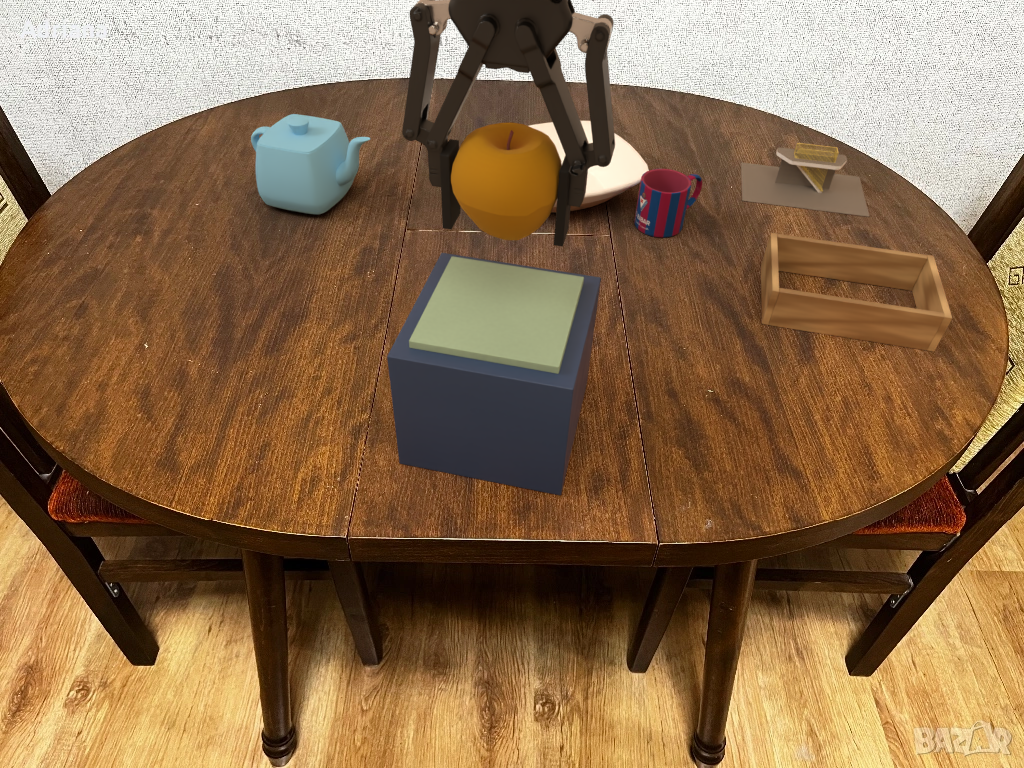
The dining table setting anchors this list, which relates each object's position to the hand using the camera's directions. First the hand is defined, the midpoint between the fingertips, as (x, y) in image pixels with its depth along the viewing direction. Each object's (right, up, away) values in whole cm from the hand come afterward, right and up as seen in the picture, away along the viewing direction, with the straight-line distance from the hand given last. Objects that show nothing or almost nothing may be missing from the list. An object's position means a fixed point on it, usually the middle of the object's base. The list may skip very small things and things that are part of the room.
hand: (505, 228), depth 63 cm
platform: (+44, +17, +52) cm, 70 cm away
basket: (+41, -3, +31) cm, 52 cm away
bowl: (+8, +16, +50) cm, 53 cm away
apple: (0, 0, 0) cm, 0 cm away
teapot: (-27, +14, +46) cm, 55 cm away
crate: (-1, -17, +16) cm, 23 cm away
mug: (+22, +10, +44) cm, 51 cm away
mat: (0, -6, +6) cm, 9 cm away
